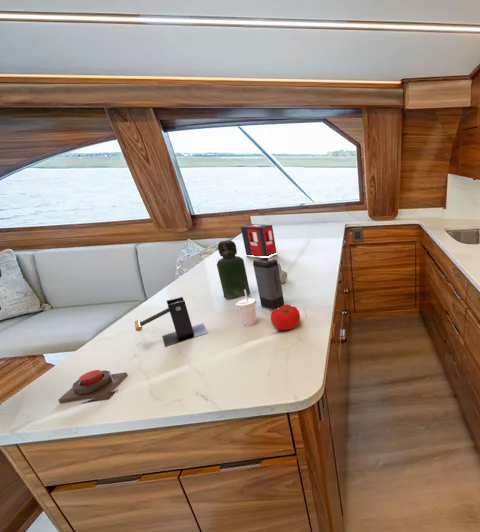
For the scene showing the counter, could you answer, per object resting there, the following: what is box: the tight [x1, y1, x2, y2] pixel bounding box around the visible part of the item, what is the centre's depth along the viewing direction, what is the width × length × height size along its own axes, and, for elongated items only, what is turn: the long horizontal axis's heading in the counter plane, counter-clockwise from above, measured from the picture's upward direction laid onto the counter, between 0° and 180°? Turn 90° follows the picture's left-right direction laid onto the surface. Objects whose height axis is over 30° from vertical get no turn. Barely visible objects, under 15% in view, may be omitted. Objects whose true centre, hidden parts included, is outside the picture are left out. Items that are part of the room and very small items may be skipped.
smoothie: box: [235, 289, 257, 327], centre depth 106 cm, size 6×6×14 cm
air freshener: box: [277, 261, 288, 284], centre depth 147 cm, size 11×8×10 cm
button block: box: [57, 369, 129, 405], centre depth 77 cm, size 10×8×4 cm
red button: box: [78, 369, 103, 386], centre depth 76 cm, size 4×4×2 cm
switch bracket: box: [161, 296, 209, 348], centre depth 100 cm, size 12×9×14 cm
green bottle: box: [216, 240, 251, 300], centre depth 131 cm, size 10×10×25 cm
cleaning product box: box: [240, 223, 277, 256], centre depth 191 cm, size 16×9×20 cm, turn 72°
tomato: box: [270, 303, 301, 331], centre depth 107 cm, size 10×11×6 cm
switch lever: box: [134, 300, 180, 332], centre depth 95 cm, size 13×6×2 cm, turn 133°
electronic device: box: [252, 258, 285, 311], centre depth 120 cm, size 9×6×20 cm, turn 59°
